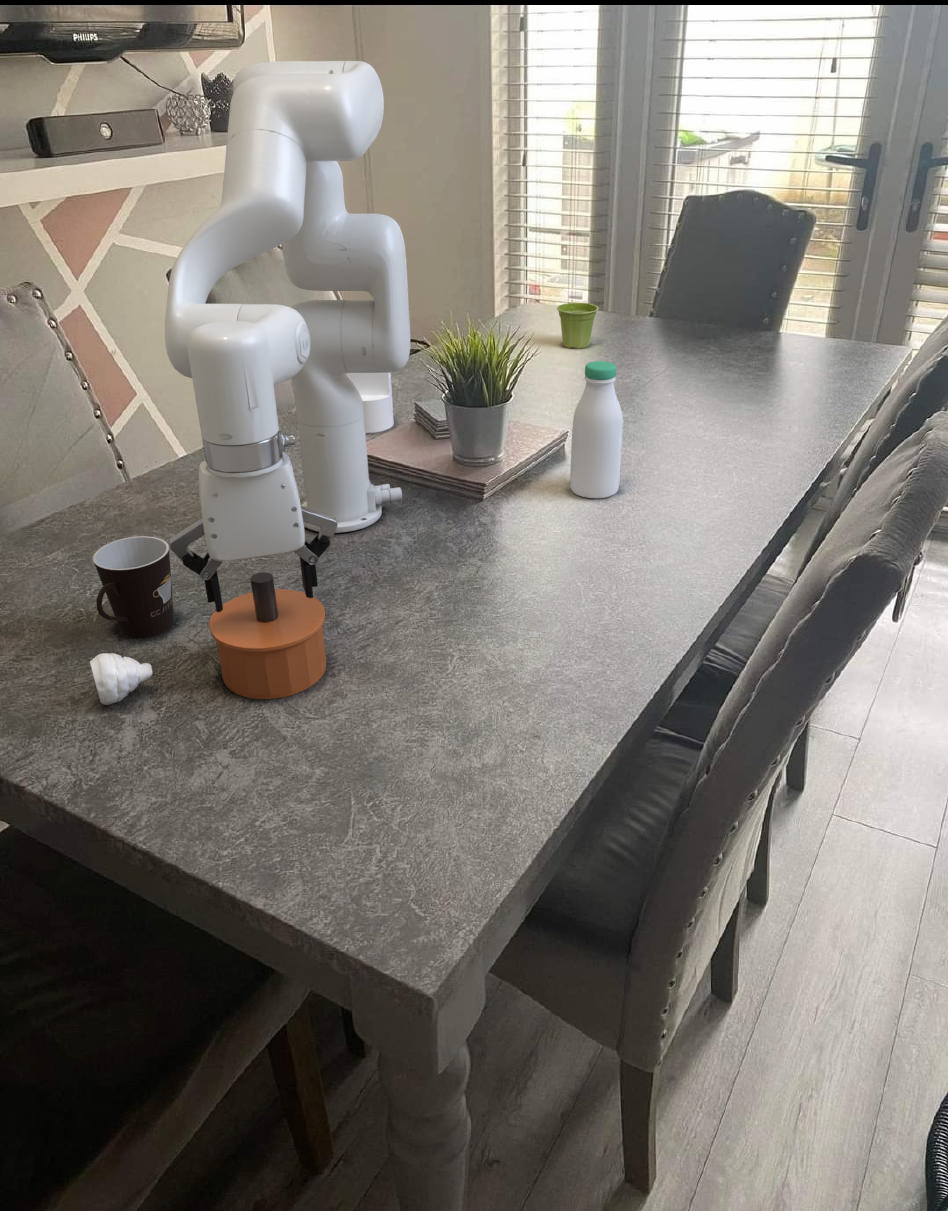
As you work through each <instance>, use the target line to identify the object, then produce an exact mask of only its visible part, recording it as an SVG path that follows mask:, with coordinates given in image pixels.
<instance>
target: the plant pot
mask: <svg viewBox="0 0 948 1211" xmlns="http://www.w3.org/2000/svg"><path fill="white" fill-rule="evenodd" d="M556 310H557V311H558V316H559V319H560V329H561V339H562V345H563V346H564V347H565V348H568V349H572V348H574V349H585V348H588V347H589V346H590V344H591V337H592V333H593V332H592V331H593V326H594V320H595V317H596V315H597V312H598V311H599V306H598V305H597V304H594V303H588V302H566V303H562V304H558V305H557V307H556Z"/></svg>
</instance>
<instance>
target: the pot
mask: <svg viewBox="0 0 948 1211" xmlns="http://www.w3.org/2000/svg"><path fill="white" fill-rule="evenodd" d="M323 625H324V624H323ZM323 625H322V627H321V628H320V629H319V630H318V631H317V632H316V633H315V634H314V635H313V636H311V637H310V638H308V639H306V640H304V641H303V642H300V643H298V644H296V645H293V646H290V647H287V648H283V649H278V650H273V651H264V652H247V651H240V650H235V649H231V648H228V647H225V646H223V645H221V644H220V643H218V642H217V641H216V640H215V642H216V648H217V653H218V659H219V665H220V670H221V675H222V680H223V682H224V684H225V686H226V688H228V689H229V690H230V691H231V692H232V693H234V694H237V695H238V696H241V697H245V698H247V699H248V698H249V699H255V700H276V699H283V698H285V697H291V696H294V695H297V694H299V693H301V692H304V691H306V690H308V689H309V688H311V687H312V686H314V685H315V684H316V683H318V682H319V681H320V680H321V678H322V677H323V676H324V674H325V673H326V668H327V653H326V644H325V643H326V642H325V634H324V626H323Z"/></svg>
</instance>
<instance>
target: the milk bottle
mask: <svg viewBox="0 0 948 1211" xmlns="http://www.w3.org/2000/svg"><path fill="white" fill-rule="evenodd" d="M616 375H617V366H616V364H615V363H613V362H611V361H605V360H596V361H591V362H588V363H586V364H585V366H584V380H585V387H584V389H583V393H582V395H581V397H580V399H579V401H578V403H577V405H576V407H575V410H574V414H573V419H572V430H571V447H570V449H571V450H570V473H569V474H570V475H569V488H570V489H571V492H572V493H573V494H575V495H577V496H580V497H583V498H588V499H603V498H605V499H606V498H609V497H612V496H614V495H616V493H617V492H618V491H619V488H620V479H621V464H622V452H623V451H622V450H623V435H624V434H623V429H624V417H623V411H622V407H621V404H620V402H619V399H618V396H617V394H616V390H615V381H616V380H617V378H616Z"/></svg>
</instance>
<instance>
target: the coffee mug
mask: <svg viewBox="0 0 948 1211" xmlns="http://www.w3.org/2000/svg"><path fill="white" fill-rule="evenodd" d="M170 556H171V555H170V545H169V544H168V542H167V541H166V540H164V539H162V538H159V537H155V536H144V535H141V536H140V535H139V536H129V537H125V538H120V539H117V540H113V541H111V542H108V543H106V544H105V545H102V546H100V548H98V549H97V550H96V551H95V552H94V554H93V555H92V561H93V564H94V567H95V569H96V572H97V574H98V577H99V580H100V582H101V585H102V587H101V588H100V590H99V591H98V594H97V596H96V610H97V613H98V615H99V616H100V617H102V619H105V620H108V621H110V622H111V621H112V622H116V623H117V626H118V628H119V631H120V633H121V634H122V635H123V636H124V637H127V638H130V639H136V640H137V639H140V640H141V639H148V638H149V639H150V638H154V637H157V636H159V635H162V634H164V633H165V632H167V631H168V630H170V629H171V628H172V627H173V625H174V623H175V617H174V603H173V588H172V587H173V586H172V572H171V557H170ZM105 595H106V598H107V600H108V602H109V604H110V607H111V610H112V613H113V616H112V615H109V614H107V613H106V612H105V610H104V608H103V599H104V596H105Z"/></svg>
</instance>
